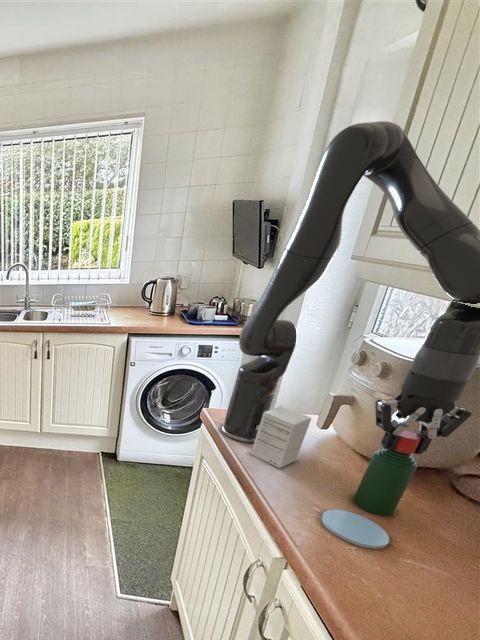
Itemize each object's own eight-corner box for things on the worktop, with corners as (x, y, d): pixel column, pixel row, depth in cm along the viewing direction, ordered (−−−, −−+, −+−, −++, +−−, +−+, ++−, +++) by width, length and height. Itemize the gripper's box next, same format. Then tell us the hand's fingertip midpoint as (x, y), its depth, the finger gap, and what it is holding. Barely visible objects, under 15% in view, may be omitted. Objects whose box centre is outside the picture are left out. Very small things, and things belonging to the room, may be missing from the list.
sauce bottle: (345, 496, 90) (374, 430, 83) (374, 495, 90) (405, 429, 83) (371, 516, 84) (405, 447, 77) (402, 515, 84) (438, 446, 77)
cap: (382, 442, 83) (388, 428, 82) (405, 444, 82) (412, 430, 81) (394, 452, 80) (401, 438, 79) (419, 454, 79) (426, 440, 78)
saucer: (311, 509, 86) (313, 506, 86) (367, 516, 84) (369, 513, 84) (337, 543, 77) (339, 540, 77) (401, 553, 75) (403, 550, 75)
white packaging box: (266, 447, 108) (280, 405, 103) (296, 461, 102) (313, 417, 97) (249, 454, 106) (262, 411, 100) (279, 469, 99) (295, 424, 94)
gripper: (472, 367, 76) (431, 445, 82) (379, 361, 79) (348, 436, 86) (508, 382, 69) (460, 466, 76) (406, 375, 73) (369, 455, 79)
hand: (401, 449), depth 81 cm, fingers closed on cap, 4 cm apart
